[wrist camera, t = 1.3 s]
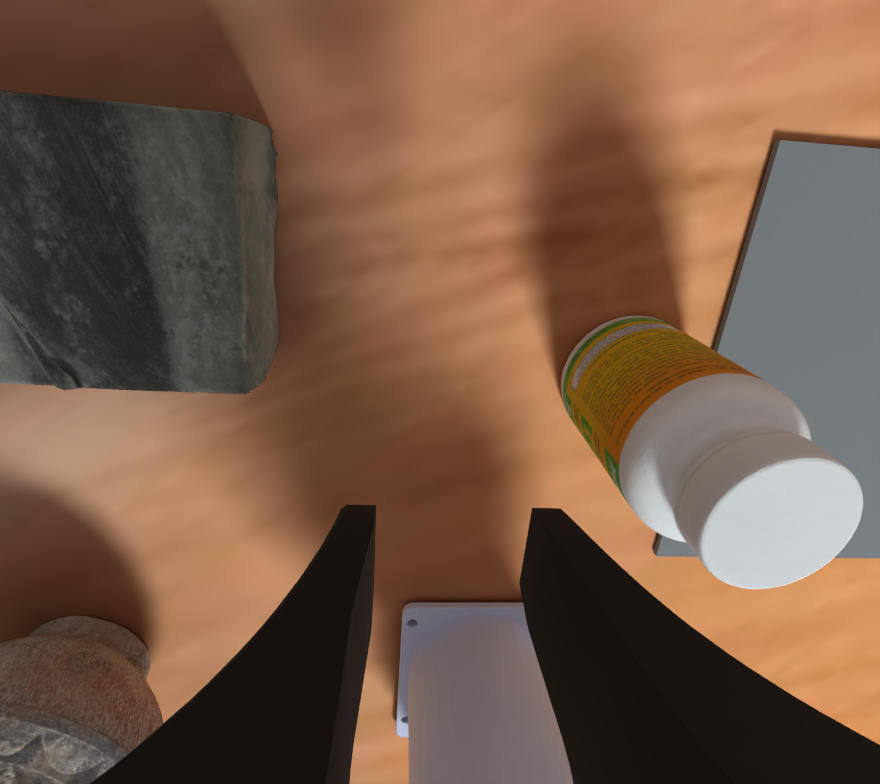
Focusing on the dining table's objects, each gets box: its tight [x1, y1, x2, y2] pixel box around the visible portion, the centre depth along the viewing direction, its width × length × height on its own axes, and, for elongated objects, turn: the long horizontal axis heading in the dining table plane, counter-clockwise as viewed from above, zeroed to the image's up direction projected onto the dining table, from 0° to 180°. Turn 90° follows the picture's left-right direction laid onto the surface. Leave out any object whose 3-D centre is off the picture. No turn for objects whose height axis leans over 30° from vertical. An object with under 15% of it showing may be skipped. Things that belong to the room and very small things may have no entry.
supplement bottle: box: [561, 316, 863, 589], centre depth 17 cm, size 5×5×10 cm
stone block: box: [0, 91, 279, 394], centre depth 16 cm, size 9×14×5 cm, turn 85°
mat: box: [654, 140, 880, 558], centre depth 22 cm, size 18×14×1 cm
